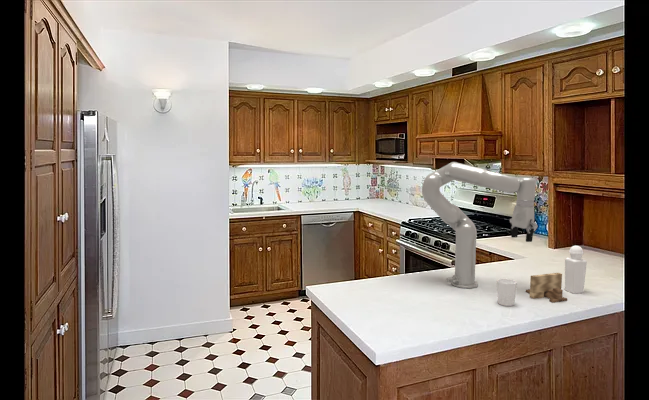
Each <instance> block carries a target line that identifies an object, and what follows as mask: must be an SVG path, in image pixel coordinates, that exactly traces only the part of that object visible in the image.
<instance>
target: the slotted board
mask: <svg viewBox="0 0 649 400" xmlns="http://www.w3.org/2000/svg"><path fill="white" fill-rule="evenodd" d="M562 280H563V273H561V272H553V273H543V274H535V275H530V280H529V281H530V283H529V289H530V293H529V298H530V299H533V300H535V299H542V298H545V297H544V292H546V291H547V292H548V290H553V288H559V289H561V290H562V286H563V285H562V283H563V281H562Z"/></svg>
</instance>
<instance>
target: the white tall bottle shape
mask: <svg viewBox="0 0 649 400" xmlns="http://www.w3.org/2000/svg"><path fill="white" fill-rule="evenodd" d="M568 253H569V255H570V257H566V258H565V259H564V290H565V291H566V292H569V293H570V294H584V290H585V281H586V272H587V264H588V261H587V260H586V259H583V257H582V256H583V255H584V250H583V248H582V247H581V246H580V245H572V246H571V247H569V251H568Z"/></svg>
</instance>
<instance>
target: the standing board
mask: <svg viewBox="0 0 649 400" xmlns="http://www.w3.org/2000/svg"><path fill="white" fill-rule="evenodd" d="M563 292H564V290H563V289H562V288H561V289H559V288H553V290H548V292H547V291H546V292H544V297H543V298H547V299H549V300H548V301H549V302H550V303H554V304H555V303H560V302H567V301H568V298H567V297H564V296H563V294H564V293H563ZM525 293H527V294H530V288H529V289H525Z"/></svg>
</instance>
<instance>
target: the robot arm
mask: <svg viewBox="0 0 649 400" xmlns="http://www.w3.org/2000/svg"><path fill="white" fill-rule="evenodd" d="M453 181H457V182H461V183H465V184H468V185H469V184H470V185H474V186H477V187H482V188H488V189H492V190H495V191H498V192H504V193H507V194H514V193H517V194H516V202H515V205H514V207H513V211H512V217H511V218H509V223H510V224H509V225H510V229H511V238H518V234H519V229H518V228H520V229H523V230H524V229H525V230H526V232H527V233H526V235H525V242H526V243H530V242H531V243H532V242H533V236H534V234H535V232H536V231H537V229H538V227H539V226H538V224H537V223H536V222H535V207H534V205H535V198H536V197H535V196H536V186H537V180H536V178H534V177H517V176H513V175H504V174H500V173H497V172H493V171H490V170H488V169H486V168H482V167H477V166H473V165H469V164H464V163H460V162H457V161H451V162H450V163H447V164H446V165H443V166H442V167H440V168H439V169H437V170H435V171H433V172H431V173H429V174H428V175H426V176H425V178H424V180H423V182H422V186H421V194H422V197H423V200H424V202H425V203H426V204H427V205H428V206H429V207H430V208H431V209H432V210H433V212H434V213H435V214H436V215H438V217H439V218H440V219H441V220H442V222H444V223H445V224H446V225H449V226H450V228H452V229H453V230H454V231H455V250H454V253H455V254H454V255H455V257H454V258H455V260H454V274H453V275H452V277H446V278H445V281H446V282H447V283H451V285H452V286H454V287H457V288H463V289H474V288H478V286H479V283H478V282H477V281H476V280H475V279H476V255H477V253H476V251H477V250H476V249H477V237H478V236H477V235H478V233H477V231H478V230H477V227H476V225H475V223H474V221H472V219H470V218H469V216H468V215H466V213H464V211H462V209H460V207H458V205H456V204H453V203H451V202H450V201H449V200H448V199H447V198H446V197H445V195H444V194H443V193H441V189H440V188H441V187H442V186H445V185H447V184H449V183H450V182H453Z"/></svg>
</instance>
